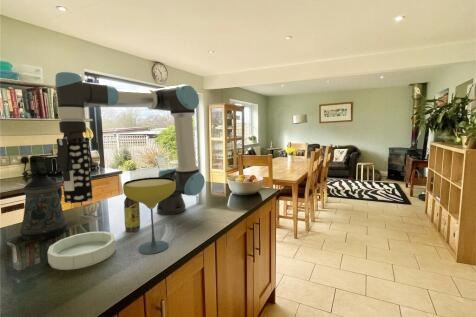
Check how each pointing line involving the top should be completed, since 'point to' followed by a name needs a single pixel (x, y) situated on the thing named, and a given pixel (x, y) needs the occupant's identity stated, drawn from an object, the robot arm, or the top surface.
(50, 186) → the beer stein
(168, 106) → the robot arm
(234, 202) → the top surface
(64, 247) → the bowl
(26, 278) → the top surface
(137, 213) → the sauce bottle
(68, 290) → the top surface
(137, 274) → the top surface
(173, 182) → the cocktail glass
